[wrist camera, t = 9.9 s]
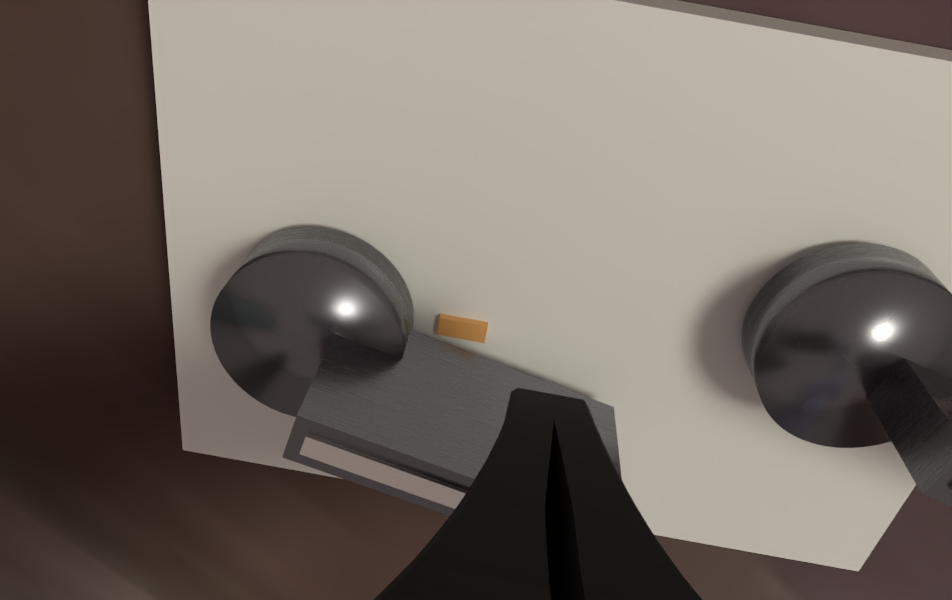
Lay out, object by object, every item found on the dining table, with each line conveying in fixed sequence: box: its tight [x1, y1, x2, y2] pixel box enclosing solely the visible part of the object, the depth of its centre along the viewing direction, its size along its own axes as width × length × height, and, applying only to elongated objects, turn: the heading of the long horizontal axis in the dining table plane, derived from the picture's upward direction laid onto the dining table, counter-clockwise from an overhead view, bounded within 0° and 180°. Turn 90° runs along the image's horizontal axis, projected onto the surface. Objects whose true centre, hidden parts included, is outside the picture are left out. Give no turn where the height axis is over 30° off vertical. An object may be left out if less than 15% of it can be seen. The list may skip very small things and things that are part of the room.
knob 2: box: [210, 227, 622, 516], centre depth 16 cm, size 10×4×4 cm, turn 68°
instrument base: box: [148, 0, 952, 571], centre depth 18 cm, size 14×20×2 cm
